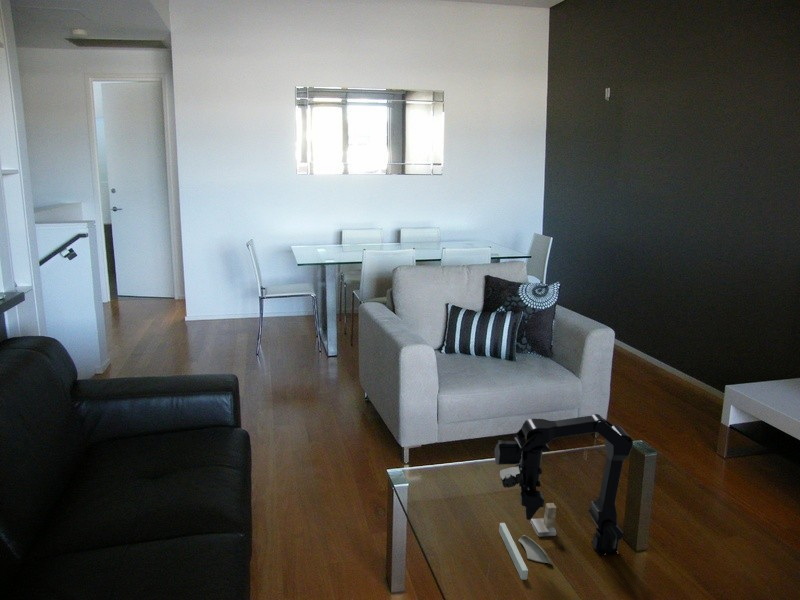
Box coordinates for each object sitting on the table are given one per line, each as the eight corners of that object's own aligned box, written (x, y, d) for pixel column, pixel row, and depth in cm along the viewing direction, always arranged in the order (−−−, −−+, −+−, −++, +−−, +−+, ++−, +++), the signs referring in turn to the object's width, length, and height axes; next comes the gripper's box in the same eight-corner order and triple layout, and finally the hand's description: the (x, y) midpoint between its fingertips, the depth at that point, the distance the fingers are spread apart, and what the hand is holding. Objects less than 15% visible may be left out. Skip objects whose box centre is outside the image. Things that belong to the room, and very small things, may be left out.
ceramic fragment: (553, 567, 190) (555, 555, 189) (540, 572, 188) (541, 560, 187) (522, 540, 202) (523, 529, 201) (509, 544, 199) (510, 533, 198)
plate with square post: (547, 522, 211) (550, 498, 208) (555, 535, 204) (559, 511, 202) (530, 523, 210) (533, 499, 207) (538, 536, 203) (541, 512, 201)
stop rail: (503, 531, 205) (504, 522, 204) (527, 579, 184) (528, 570, 183) (498, 531, 205) (499, 523, 204) (521, 579, 184) (522, 570, 183)
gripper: (499, 445, 198) (496, 490, 202) (505, 478, 180) (501, 527, 184) (537, 447, 197) (532, 493, 201) (546, 481, 179) (541, 530, 184)
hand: (526, 510), depth 193 cm, fingers open, 9 cm apart
